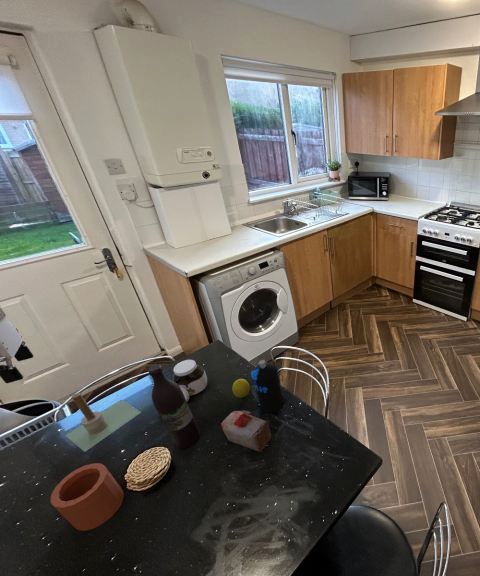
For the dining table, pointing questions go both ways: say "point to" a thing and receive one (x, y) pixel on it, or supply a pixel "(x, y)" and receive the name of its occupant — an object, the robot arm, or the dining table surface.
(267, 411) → the aerosol can
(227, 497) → the dining table surface
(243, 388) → the lemon
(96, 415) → the brush
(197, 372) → the spread jar
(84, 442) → the mat
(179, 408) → the wine bottle
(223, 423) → the food item
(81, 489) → the terracotta pot
